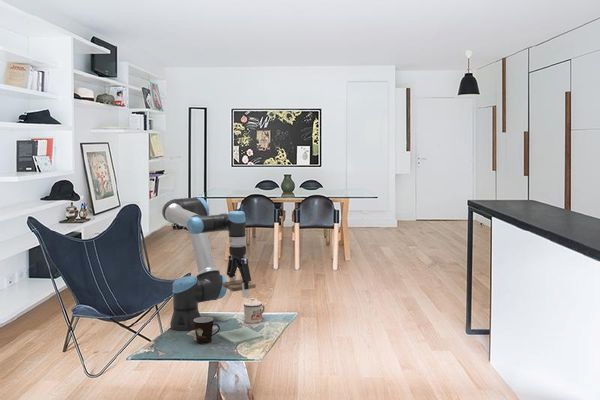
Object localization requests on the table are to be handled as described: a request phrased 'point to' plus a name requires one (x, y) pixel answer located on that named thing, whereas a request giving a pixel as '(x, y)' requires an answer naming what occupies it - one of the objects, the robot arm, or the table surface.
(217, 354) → the table surface
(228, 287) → the walnut lid
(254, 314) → the teacup with lid
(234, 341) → the sage mat
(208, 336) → the coffee mug
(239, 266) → the robot arm
